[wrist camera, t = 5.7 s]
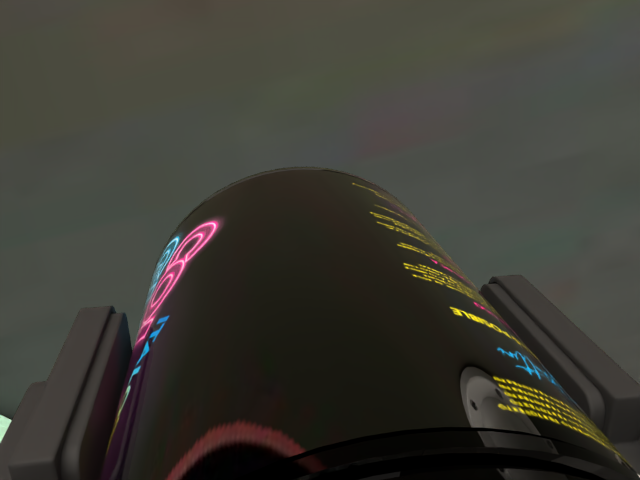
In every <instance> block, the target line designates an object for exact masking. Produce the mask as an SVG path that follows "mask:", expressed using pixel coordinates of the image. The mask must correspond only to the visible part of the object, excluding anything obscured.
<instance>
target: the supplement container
mask: <svg viewBox="0 0 640 480" xmlns="http://www.w3.org/2000/svg"><path fill="white" fill-rule="evenodd" d="M99 480H640V475H639V474H638V473H637V472H636V471H635V470H634V469H633V467H632V466H631V465H630V464H629V463H628V462H627V460H626V459H625V458H624V457H623V456H622V455H621V454H620V452H619V451H618V450H617V449H616V448H615V447H614V445H613V444H612V443H611V442H610V441H609V440H608V439H607V437H606V436H605V435H604V434H603V433H602V432H601V430H600V429H599V428H598V427H597V426H596V425H595V424H594V422H593V421H592V420H591V419H590V418H589V417H588V415H587V414H586V413H585V412H584V411H583V410H582V409H581V407H580V406H579V405H578V404H577V403H576V402H575V401H574V399H573V398H572V397H571V396H570V395H569V394H568V392H567V391H566V390H565V389H564V388H563V387H562V386H561V384H560V383H559V382H558V381H557V380H556V379H555V377H554V376H553V375H552V374H551V373H550V372H549V371H548V369H547V368H546V367H545V366H544V365H543V364H542V362H541V361H540V360H539V359H538V358H537V357H536V356H535V354H534V353H533V352H532V351H531V350H530V349H529V347H528V346H527V345H526V344H525V343H524V342H523V341H522V339H521V338H520V337H519V336H518V335H517V334H516V332H515V331H514V330H513V329H512V328H511V327H510V326H509V324H508V323H507V322H506V321H505V320H504V319H503V318H502V316H501V315H500V314H499V313H498V312H497V311H496V309H495V308H494V307H493V306H492V305H491V304H490V303H489V301H488V300H487V299H486V298H485V297H484V296H483V294H482V293H481V292H480V291H479V290H478V289H477V288H476V286H475V285H474V284H473V283H472V282H471V281H470V279H469V278H468V277H467V276H466V275H465V274H464V273H463V271H462V270H461V269H460V268H459V267H458V266H457V264H456V263H455V262H454V261H453V260H452V259H451V258H450V256H449V255H448V254H447V253H446V252H445V251H444V249H443V248H442V247H441V246H440V245H439V244H438V243H437V241H436V240H435V239H434V238H433V237H432V236H431V235H430V233H429V232H428V231H427V230H426V229H425V228H424V226H423V225H422V224H421V223H420V222H419V221H418V220H417V218H416V217H415V216H414V215H413V214H412V213H411V211H410V210H409V209H408V208H407V207H406V206H405V205H404V204H403V203H401V202H400V201H399V200H398V199H397V198H396V197H394V196H393V195H392V194H390V193H389V192H388V191H386V190H385V189H383V188H381V187H379V186H378V185H376V184H374V183H372V182H370V181H368V180H366V179H363V178H361V177H359V176H356V175H353V174H349V173H346V172H343V171H338V170H333V169H328V168H318V167H290V168H281V169H275V170H270V171H265V172H261V173H258V174H255V175H252V176H248V177H246V178H243V179H241V180H238V181H236V182H234V183H231V184H230V185H228V186H226V187H224V188H222V189H221V190H219V191H217V192H215V193H214V194H213V195H211V196H210V197H208V198H207V199H205V200H204V201H203V202H201V203H200V204H199V205H198V206H197V207H196V208H194V209H193V210H192V211H191V212H190V213H189V214H188V215H187V216H186V217H185V218H184V219H183V221H182V222H181V223H180V224H179V225H178V227H177V228H176V229H175V231H174V232H173V233H172V235H171V236H170V238H169V239H168V241H167V243H166V244H165V246H164V248H163V250H162V252H161V254H160V256H159V259H158V261H157V263H156V267H155V270H154V273H153V276H152V280H151V284H150V288H149V291H148V295H147V299H146V303H145V307H144V310H143V314H142V318H141V322H140V326H139V329H138V333H137V337H136V341H135V345H134V348H133V352H132V356H131V360H130V364H129V367H128V371H127V375H126V379H125V383H124V386H123V390H122V394H121V398H120V402H119V405H118V409H117V413H116V417H115V421H114V424H113V428H112V432H111V436H110V440H109V443H108V447H107V451H106V455H105V459H104V462H103V466H102V470H101V474H100V478H99Z"/></svg>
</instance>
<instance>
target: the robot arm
mask: <svg viewBox="0 0 640 480" xmlns="http://www.w3.org/2000/svg"><path fill="white" fill-rule="evenodd" d="M481 293H482V294H483V296H484V297H485V298H486V299H487V300H488V301H489V303H490V304H491V305H492V306H493V307H494V308H495V309H496V311H497V312H498V313H499V314H500V315H501V316H502V318H503V319H504V320H505V321H506V322H507V323H508V324H509V326H510V327H511V328H512V329H513V330H514V331H515V332H516V334H517V335H518V336H519V337H520V338H521V339H522V341H523V342H524V343H525V344H526V345H527V346H528V347H529V349H530V350H531V351H532V352H533V353H534V354H535V356H536V357H537V358H538V359H539V360H540V361H541V362H542V364H543V365H544V366H545V367H546V368H547V369H548V371H549V372H550V373H551V374H552V375H553V376H554V377H555V379H556V380H557V381H558V382H559V383H560V384H561V386H562V387H563V388H564V389H565V390H566V391H567V392H568V394H569V395H570V396H571V397H572V398H573V399H574V401H575V402H576V403H577V404H578V405H579V406H580V407H581V409H582V410H583V411H584V412H585V413H586V414H587V415H588V417H589V418H590V419H591V420H592V421H593V422H594V424H595V425H596V426H597V427H598V428H599V429H600V430H601V432H602V433H603V434H604V435H605V436H606V437H607V439H608V440H609V441H610V442H611V443H612V444H613V445H614V447H615V448H616V449H617V450H618V451H619V452H620V454H621V455H622V456H623V457H624V458H625V459H626V460H627V462H628V463H629V464H630V465H631V466H632V467H633V469H634V470H635V471H636V472H637V473H638V474H639V475H640V385H639V384H638V383H637V382H636V381H635V380H634V379H633V378H632V377H630V376H629V375H628V374H627V373H626V372H625V371H624V370H623V369H622V368H621V367H620V366H619V365H618V364H617V363H615V362H614V361H613V360H612V359H611V358H610V357H609V356H608V355H607V354H606V353H605V352H604V351H603V350H602V349H600V348H599V347H598V346H597V345H596V344H595V343H594V342H593V341H592V340H591V339H590V338H589V337H588V336H587V335H585V334H584V333H583V332H582V331H581V330H580V329H579V328H578V327H577V326H576V325H575V324H574V323H573V322H572V321H570V320H569V319H568V318H567V317H566V316H565V315H564V314H563V313H562V312H561V311H560V310H559V309H558V308H557V307H555V306H554V305H553V304H552V303H551V302H550V301H549V300H548V299H547V298H546V297H545V296H544V295H543V294H542V293H540V292H539V291H538V290H537V289H536V288H535V287H534V286H533V285H532V284H531V283H530V282H529V281H528V280H527V279H525V278H524V277H523V276H522V275H510V276H497V277H492V278H491V279H490V281H489V283H488V284H484V285H483V286H482V288H481ZM131 356H132V347H131V341H130V334H129V328H128V321H127V317H126V314H125V313H116V311H115V309H114V307H113V306H106V307H93V308H81V309H80V311H79V313H78V315H77V317H76V319H75V321H74V323H73V326H72V328H71V330H70V332H69V334H68V336H67V338H66V341H65V343H64V345H63V347H62V349H61V351H60V354H59V356H58V358H57V360H56V362H55V364H54V366H53V369H52V371H51V373H50V375H49V377H48V379H47V381H43V382H35V383H32V384H31V385H30V386H29V388H28V389H27V391H26V393H25V395H24V397H23V399H22V401H21V403H20V405H19V407H18V409H17V411H16V413H15V415H14V417H13V419H12V421H11V423H10V425H9V427H8V429H7V431H6V433H5V435H4V437H3V439H2V441H1V443H0V480H99V478H100V474H101V470H102V466H103V462H104V459H105V455H106V451H107V447H108V443H109V440H110V436H111V432H112V428H113V424H114V421H115V417H116V413H117V409H118V405H119V402H120V398H121V394H122V390H123V386H124V383H125V379H126V375H127V371H128V367H129V364H130V360H131Z"/></svg>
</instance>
